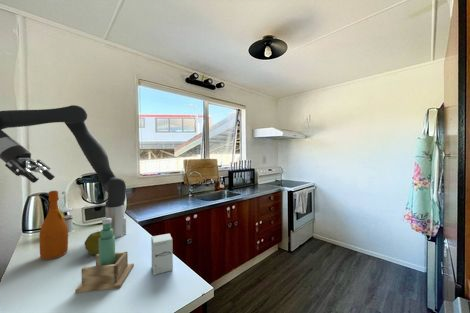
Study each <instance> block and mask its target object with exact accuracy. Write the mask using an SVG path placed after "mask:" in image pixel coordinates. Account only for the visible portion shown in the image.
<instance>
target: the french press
mask: <svg viewBox="0 0 470 313" xmlns="http://www.w3.org/2000/svg"><path fill="white" fill-rule="evenodd" d="M61 194H63V195H65V194H67V192H66V191H62V192H61ZM59 209H60V210H59V212H61V211H62V212H63V214H64V216H65V217H63V218H64V220H65V222H66V224H67V228H68V234H69V235H71V233H72V234H74V233H75V232H76V230H74V227H73V226H74V222H73V221H74V220H73V215H71V214H69V215H67V214H66V215H65V213H68V212H71V211H73V209H74V208H71V207H67V206H65V205H63V207H61V208H59ZM73 232H74V233H73Z"/></svg>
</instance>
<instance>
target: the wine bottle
mask: <svg viewBox="0 0 470 313" xmlns="http://www.w3.org/2000/svg"><path fill="white" fill-rule="evenodd" d="M59 198H60V197H59V191H58V190H50V191H49V192H48V202H49V206H48V207H49V208H48V212H47V215H46V216H45V219H44V221H43V223H42V224H41V227H40V230H39V238H38V239H39V242H38V244H39V255H40V256H39V257H40V259H42V260H53V259H57V258H60V257H62V256H64V255H65V254H67V252H68V250H69V235H68V228H67V224H66V222H65V221H66V220H64V218H63V217H65V216H66V215H65V216H64V212H62V211H61V212H59V210H60V209H61V208H59V204H58V201H59Z"/></svg>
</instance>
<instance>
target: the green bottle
mask: <svg viewBox="0 0 470 313" xmlns="http://www.w3.org/2000/svg"><path fill="white" fill-rule="evenodd" d="M111 223H112V218H106V217H105V218H102V219H101V224H102V229H101V230H100V231H101V238H99V266H101V265H112V264H115V253H116V238H115V236H114V235H113V228H111Z"/></svg>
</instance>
